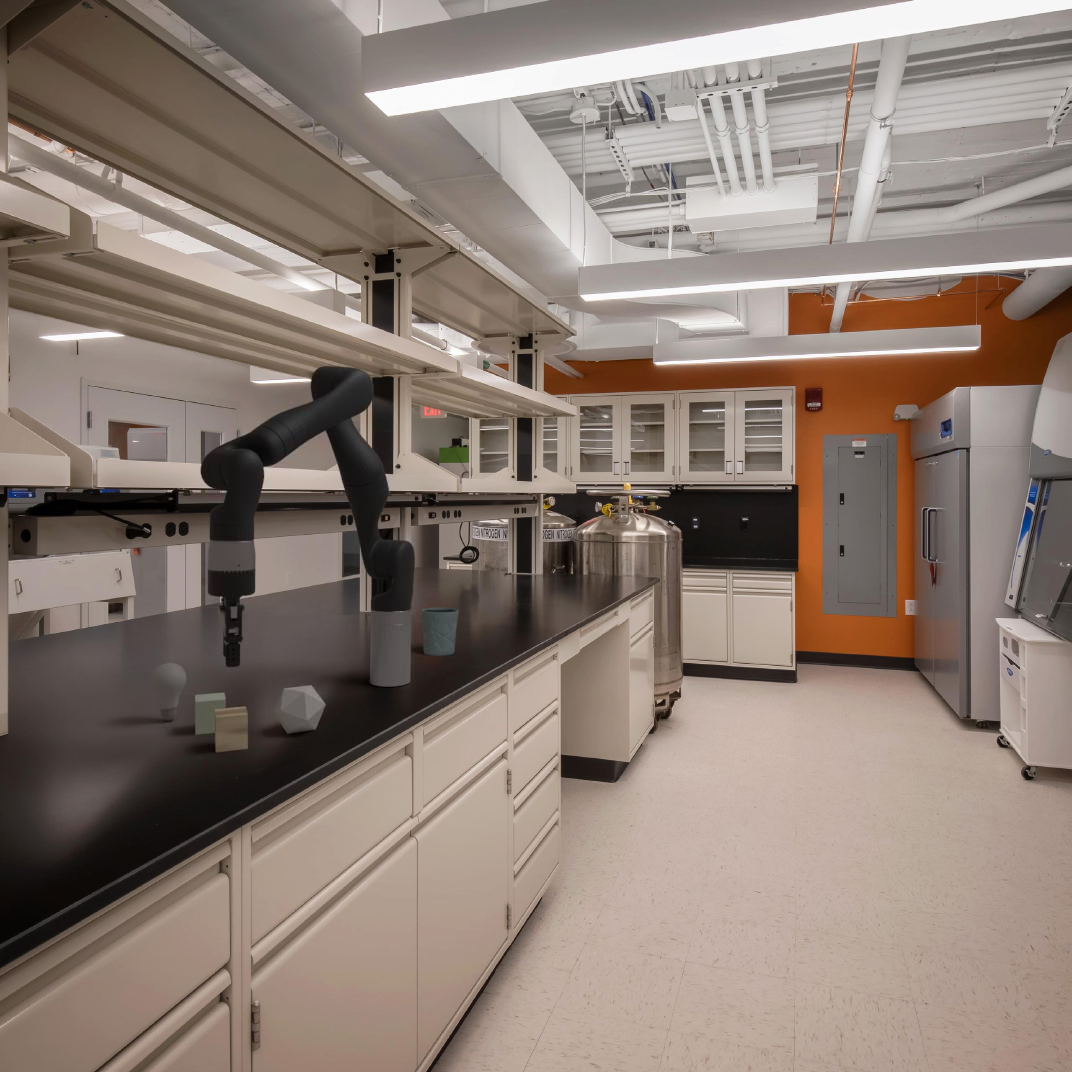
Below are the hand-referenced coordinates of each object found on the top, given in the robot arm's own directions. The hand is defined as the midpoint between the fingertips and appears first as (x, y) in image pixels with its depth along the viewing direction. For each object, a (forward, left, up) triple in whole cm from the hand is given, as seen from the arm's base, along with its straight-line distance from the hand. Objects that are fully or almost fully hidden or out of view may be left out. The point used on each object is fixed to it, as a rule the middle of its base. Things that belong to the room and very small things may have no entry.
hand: (231, 661), depth 127 cm
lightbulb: (-19, -10, -15) cm, 26 cm away
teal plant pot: (-61, +57, -15) cm, 85 cm away
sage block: (-11, -3, -15) cm, 19 cm away
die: (-5, +12, -15) cm, 20 cm away
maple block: (0, 0, -15) cm, 15 cm away
